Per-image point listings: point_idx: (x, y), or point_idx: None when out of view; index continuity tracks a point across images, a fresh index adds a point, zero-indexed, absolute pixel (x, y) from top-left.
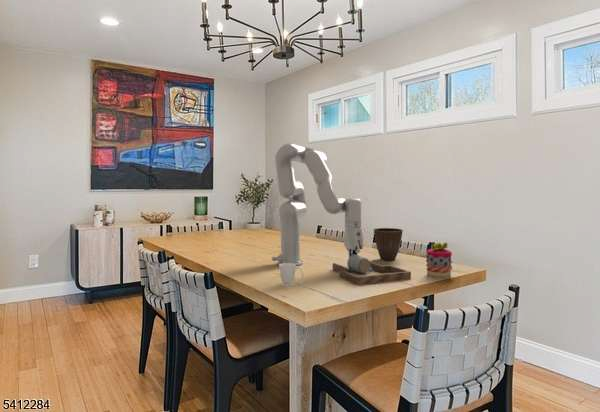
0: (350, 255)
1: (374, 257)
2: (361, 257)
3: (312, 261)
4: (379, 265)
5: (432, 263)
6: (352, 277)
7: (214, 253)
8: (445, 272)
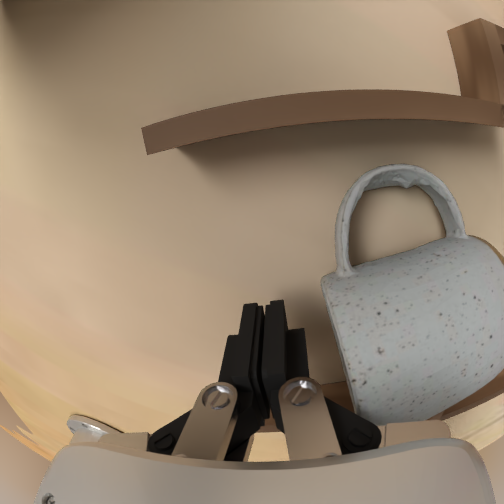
0: (261, 417)
1: None
2: (495, 376)
3: (51, 379)
4: (487, 119)
5: None
6: None
7: (48, 452)
8: None
